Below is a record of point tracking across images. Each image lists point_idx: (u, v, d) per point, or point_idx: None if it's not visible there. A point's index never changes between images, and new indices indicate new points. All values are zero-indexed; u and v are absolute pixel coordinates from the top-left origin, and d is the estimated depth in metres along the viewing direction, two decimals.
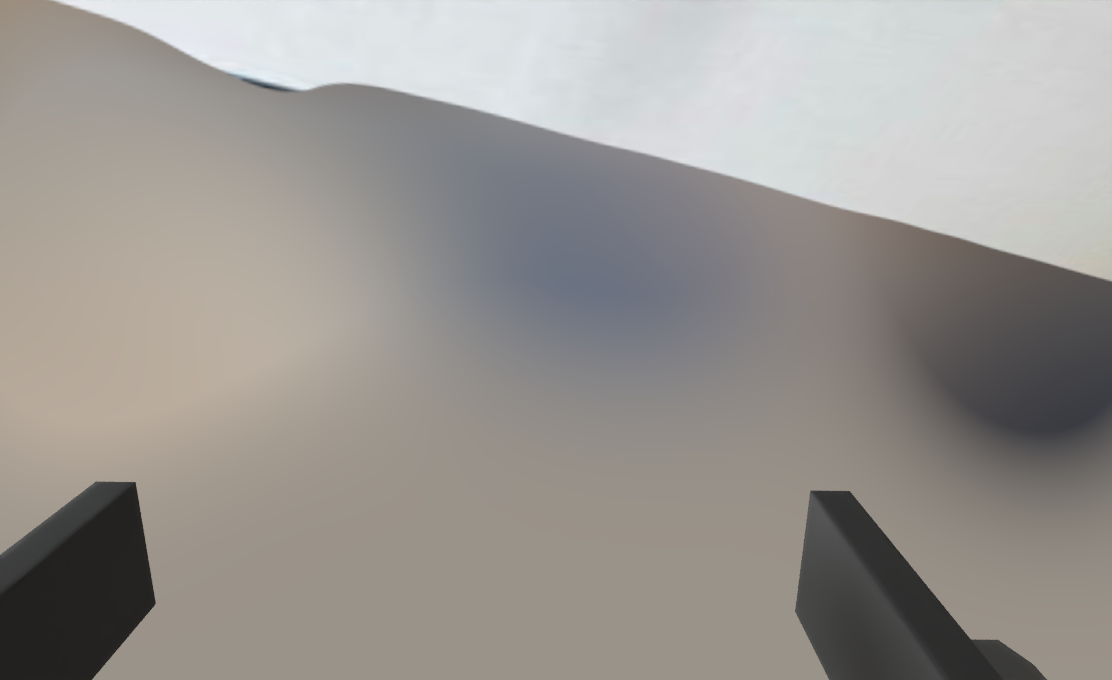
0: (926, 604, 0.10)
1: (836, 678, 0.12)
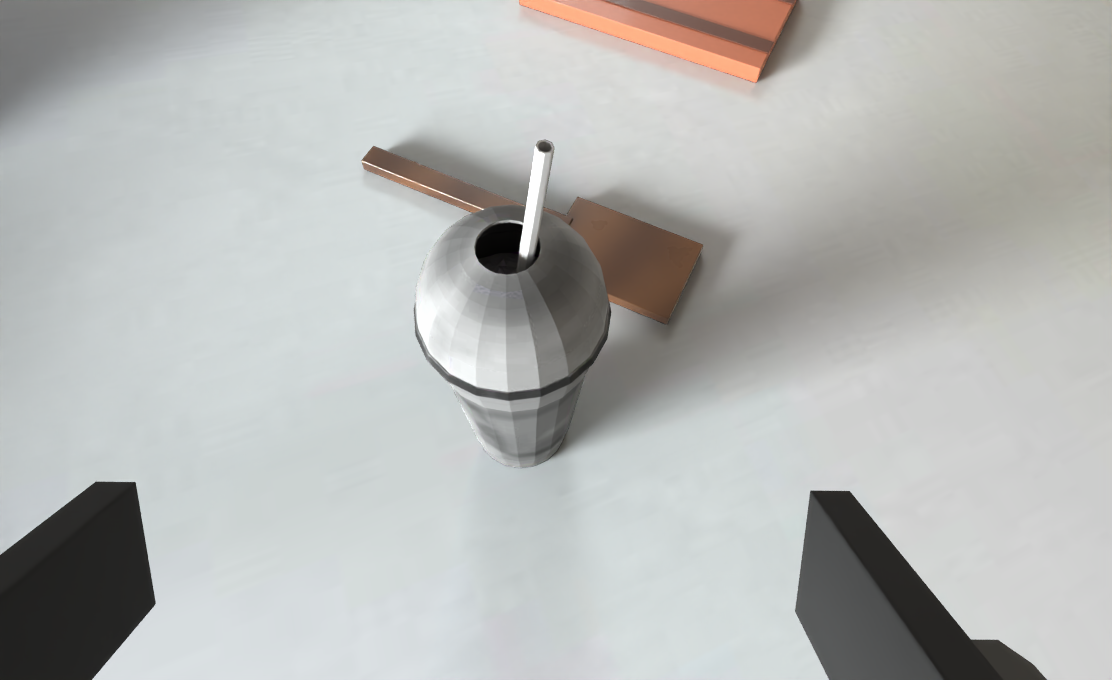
0: (926, 604, 0.10)
1: (836, 678, 0.12)
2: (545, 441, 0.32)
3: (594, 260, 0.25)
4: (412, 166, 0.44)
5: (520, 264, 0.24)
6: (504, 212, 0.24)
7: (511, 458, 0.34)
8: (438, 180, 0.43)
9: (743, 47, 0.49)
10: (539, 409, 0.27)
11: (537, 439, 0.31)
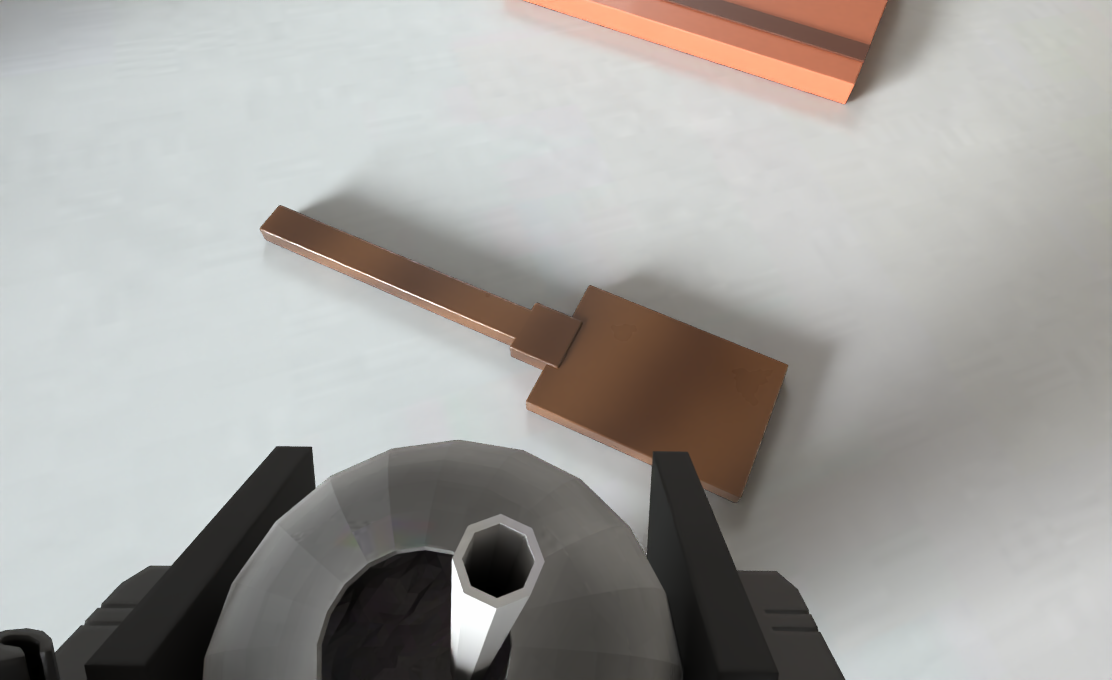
0: (710, 538, 0.12)
1: None
2: None
3: (653, 604, 0.10)
4: (336, 238, 0.29)
5: (456, 668, 0.08)
6: (415, 511, 0.09)
7: None
8: (374, 260, 0.28)
9: (826, 52, 0.33)
10: None
11: None
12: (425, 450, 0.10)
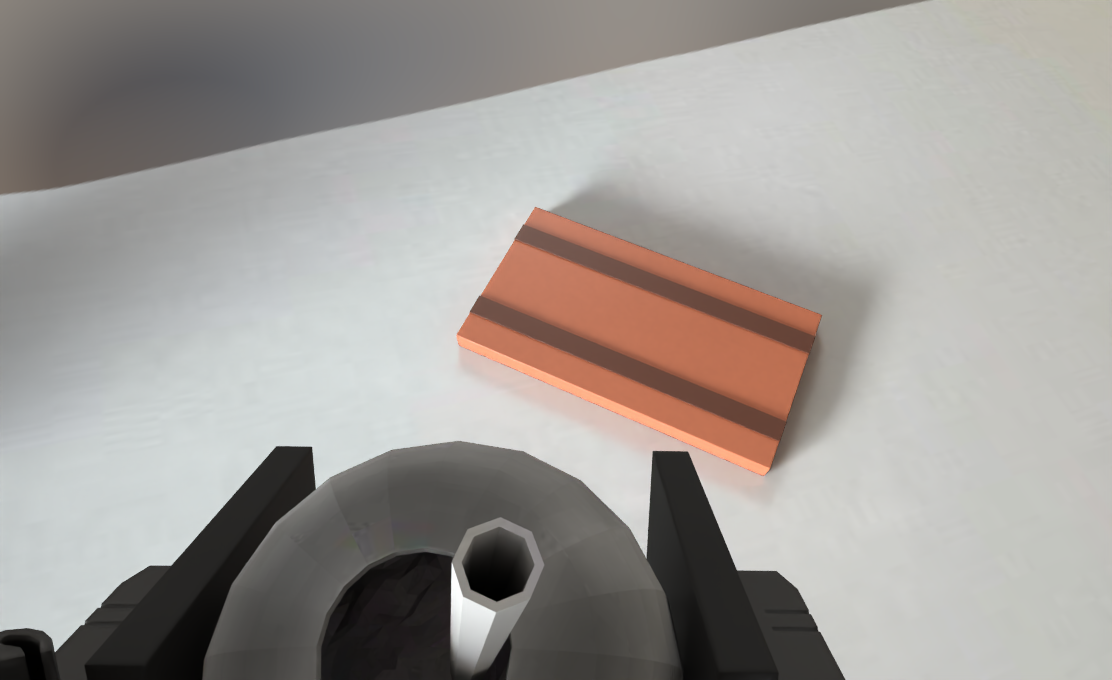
0: (710, 539, 0.12)
1: None
2: None
3: (653, 605, 0.10)
4: None
5: (456, 670, 0.08)
6: (415, 512, 0.09)
7: None
8: None
9: (746, 430, 0.37)
10: None
11: None
12: (425, 451, 0.10)
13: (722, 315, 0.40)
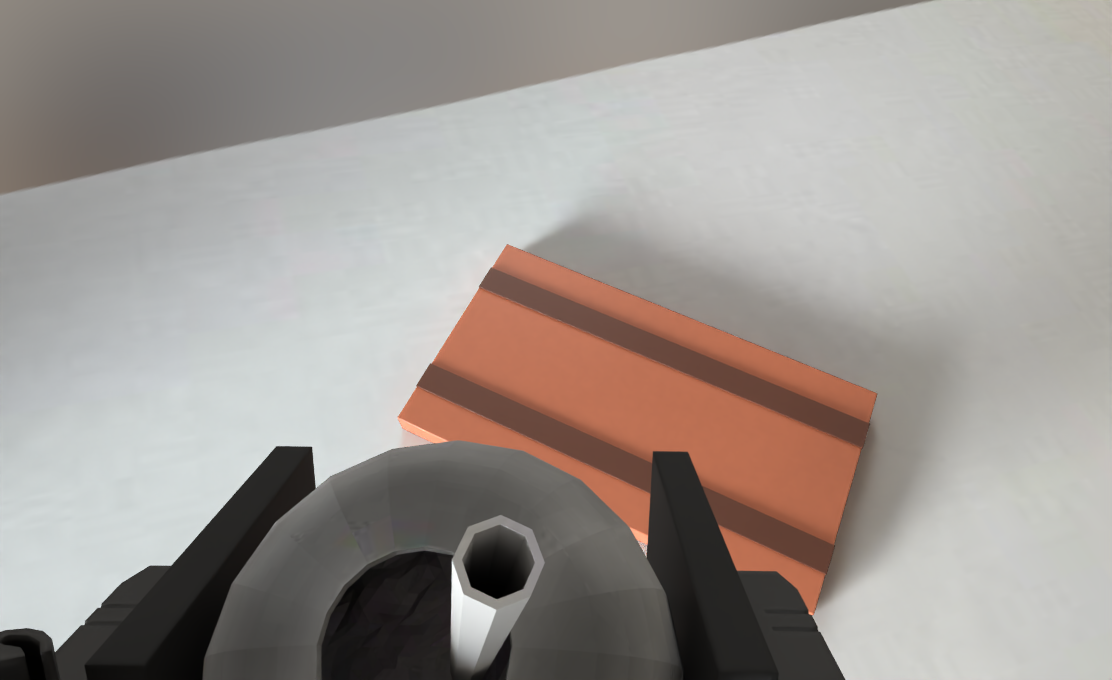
0: (710, 539, 0.12)
1: None
2: None
3: (654, 604, 0.10)
4: None
5: (456, 669, 0.08)
6: (415, 511, 0.09)
7: None
8: None
9: (780, 557, 0.28)
10: None
11: None
12: (425, 450, 0.10)
13: (747, 393, 0.31)
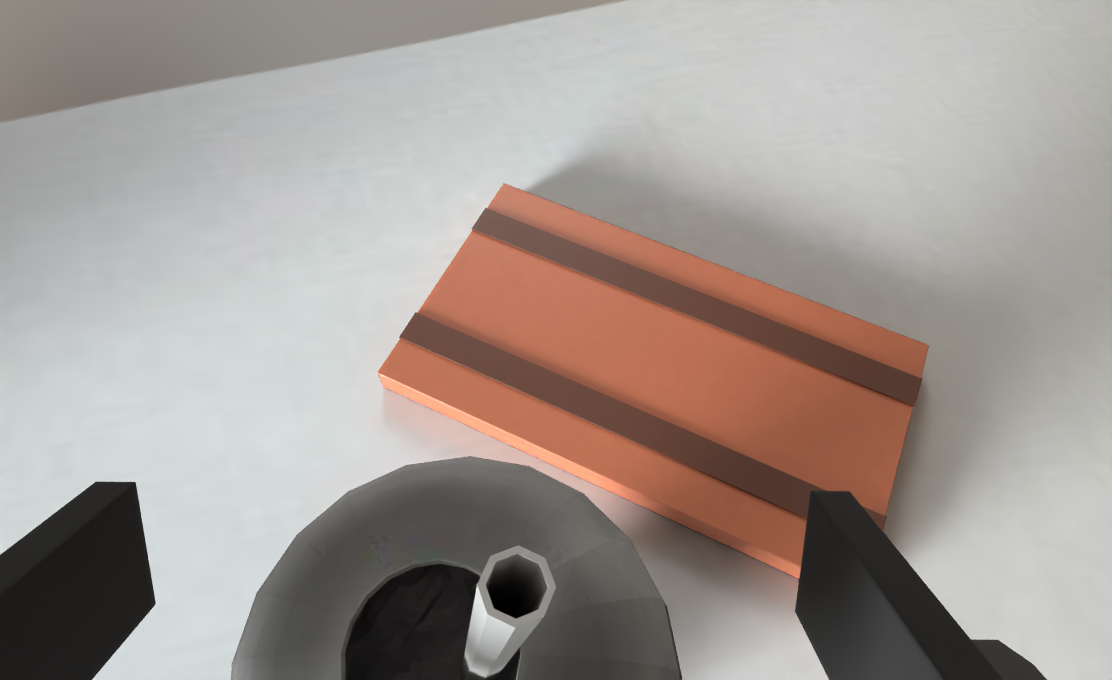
0: (927, 605, 0.10)
1: (836, 678, 0.12)
2: None
3: (652, 613, 0.10)
4: None
5: (469, 674, 0.09)
6: (430, 527, 0.10)
7: None
8: None
9: None
10: None
11: None
12: (437, 468, 0.11)
13: (779, 344, 0.27)
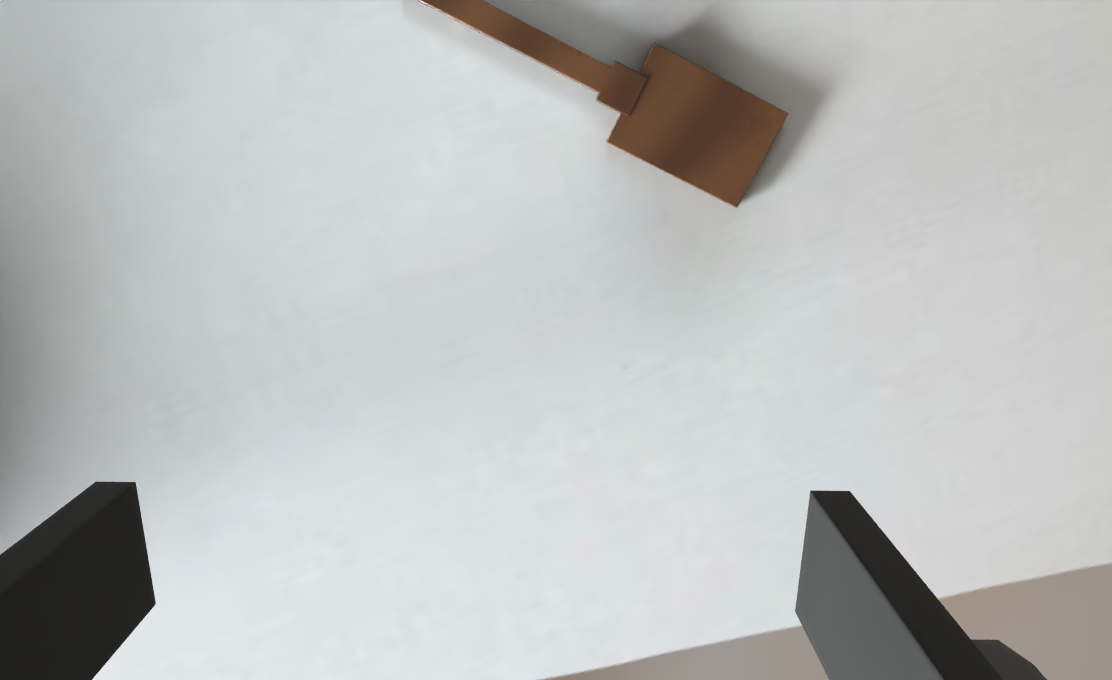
0: (926, 604, 0.10)
1: (836, 678, 0.12)
2: None
3: None
4: None
5: None
6: None
7: None
8: (492, 21, 0.37)
9: None
10: None
11: None
12: None
13: None
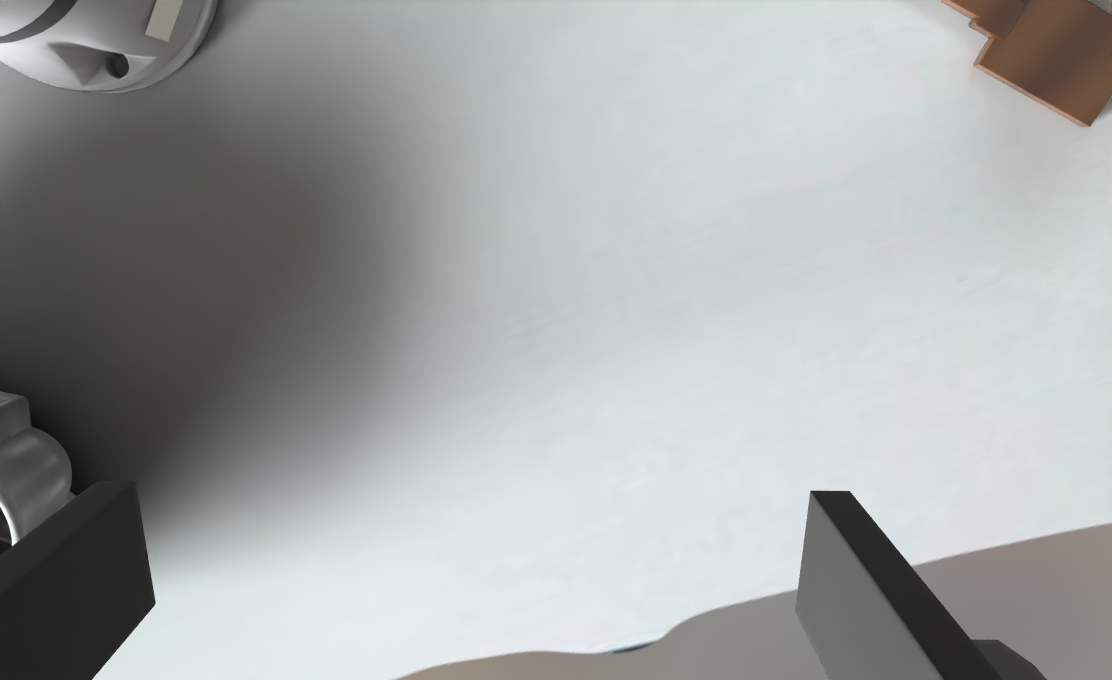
0: (927, 605, 0.10)
1: (836, 678, 0.12)
2: None
3: None
4: None
5: None
6: None
7: None
8: None
9: None
10: None
11: None
12: None
13: None
